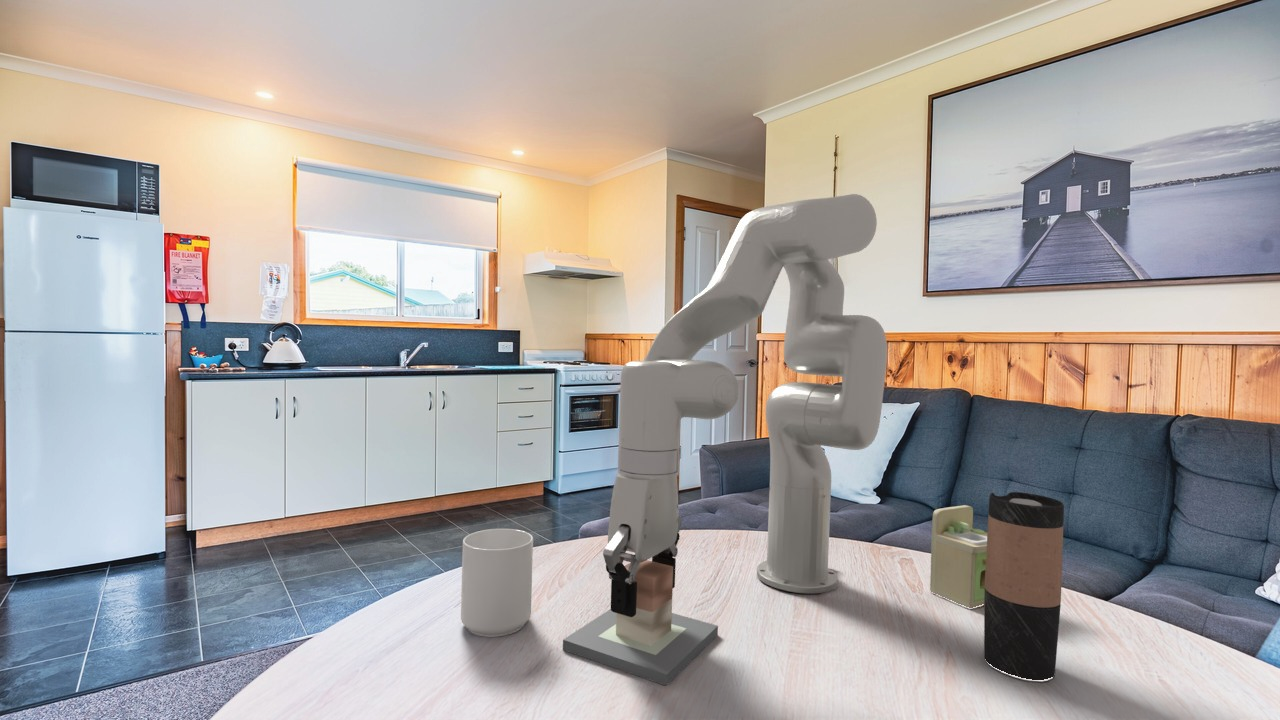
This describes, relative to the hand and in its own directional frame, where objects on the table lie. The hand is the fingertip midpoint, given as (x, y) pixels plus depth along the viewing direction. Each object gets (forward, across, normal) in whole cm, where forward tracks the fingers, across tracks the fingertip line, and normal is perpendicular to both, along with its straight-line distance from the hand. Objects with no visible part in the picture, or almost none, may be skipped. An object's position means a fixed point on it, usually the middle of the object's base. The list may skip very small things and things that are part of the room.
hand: (644, 599), depth 75 cm
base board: (+5, 0, 0) cm, 5 cm away
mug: (+6, +5, -19) cm, 20 cm away
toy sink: (+6, -40, +34) cm, 53 cm away
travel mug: (+6, -20, +40) cm, 45 cm away
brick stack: (+4, 0, 0) cm, 4 cm away
